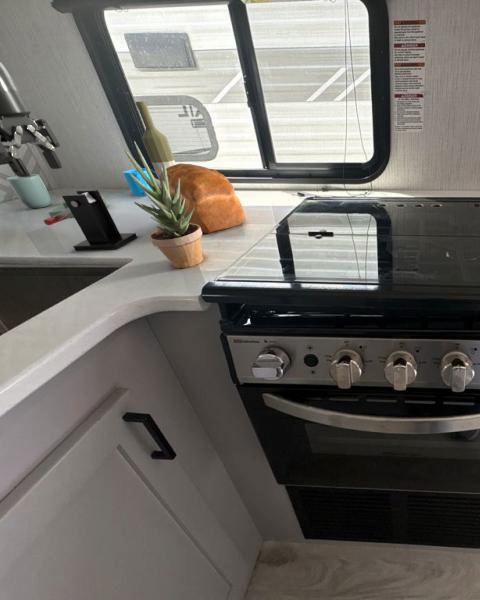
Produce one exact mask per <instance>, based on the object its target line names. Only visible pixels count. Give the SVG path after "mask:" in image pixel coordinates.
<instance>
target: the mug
mask: <svg viewBox="0 0 480 600" xmlns="http://www.w3.org/2000/svg"><path fill="white" fill-rule="evenodd" d="M141 169H142V170H143V172H144V173H145V174H146V175H147V177H148V178H149V179H150V177H149V175H148V173H147V171H146V169H145V167H144V168H141ZM128 172H129V173H131V174H132V175H133V176H134V177H135V178H137V179H138V180H139V181H140V182H141V183H143V184H144V185H145V186H146V187H148V188H149V189H150V190H152V189H151V188H150V187H149V185H148V184H147V183H146V182H145V180H144V179H143V178H142V176H141V175H140V174H139V172H138V171H137V169H136V168H134V169H127V170H124V171H123V172H122V174H123V175H124V178H125V179H126V182H127V184H128V186H129V189H130V191H131V193H132V195H133V196H134V197H144V196H147V195H146V194H145V192H144V190H143V189H142V188H141V187H140V186H139V185H138V184H137V183H136V182H135V180H134V179H133V178H132V177H131V176H130V174H129V173H128ZM150 180H151V179H150Z"/></svg>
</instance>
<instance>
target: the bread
mask: <svg viewBox="0 0 480 600" xmlns="http://www.w3.org/2000/svg"><path fill="white" fill-rule="evenodd" d="M166 171H167V177H168V184H169V192H170V196H171V197H172V196H173V194H174V192H175V190H176V187H177V182H178V178H179V180H180V191H179V196H180V194H181V195H182V197H181V202H182V201H183V199H185V202H184V208H183V211H182V213H183V212H184V210H185V208H186V206H187V205H189V206H188V209H187V211H186V213H185V215H184V217H185V216H186V215H187V214H188V213H189V212H190V211H191V210H192V209H193V208H194V207H195V208H194V210H193V212H192V215H191V218H190V220H189V222H188V223H192V224H198V225H199V226H200V228H201V231H202V234H203V233H204V234H211V233H215V232H216V233H217V232H220V231H224V230H227V229H230V228H233V227H235V226H239V225H241V224H242V223H244V222H245V220H246V214H245V211H244V208H243V205H242V203H241V201H240V199H239V197H238V196H237V195H236V192H235V187H234V186H233V184H232V183H231V182H230V180H229V179H228V178H227V177H226V176H225V175H224V174H222V173H221V172H219V171H217V170H215V169H214V168H209V167H206V166H202V165H197V164H192V163H181V162H179V163H176V165H173V166H170V167H167V168H166ZM159 179H160V181H159V187H160V188H162V184H161V175H160V176H159V178H158V180H159Z"/></svg>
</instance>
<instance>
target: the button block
mask: <svg viewBox="0 0 480 600" xmlns="http://www.w3.org/2000/svg"><path fill="white" fill-rule="evenodd" d="M102 199H103V201H104V203H105V205H106V207H107V208H108V206H109V205H108V203H107V201H106V199H105V198H102ZM67 208H68V206H67V204H66V202H65V200H64V199H63V200H62V201H61V204H58V205H57V206H56V207H55V208H53V209H52V210H51V211H49V213H48V214H49V215H50V218H51V217H53V216H56V215H58V214H59V213H61V212H62V211H64V210H65V209H67ZM67 216H68V218H74V216H73V214H72V213H70V214H68V215H67ZM68 218H67V219H68Z"/></svg>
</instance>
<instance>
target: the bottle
mask: <svg viewBox="0 0 480 600" xmlns="http://www.w3.org/2000/svg"><path fill="white" fill-rule="evenodd" d="M135 106H136V108H137V109H138V112H139V115H140V117H141V120H142V123H143V125H144V127H145V130H144V132H143V134H142V136H141V140H142V144H143V146H144V147H145V150H146V152H147V155H148V157H149V160H150V162H151V164H152V166H153V169H154V172H155V174H156V176H157V178H158V180H159V182H160V179H159V176H160V175H161V168H162V169H163V161H164V164H165V167H166V168H167V167H170V166H173V165H176V164H177V163H176V161H175V158H174V155H173V152H172V149H171V147H170V143H169V141H168V137H167V136H166V135H164V133H162V132H161V131H159V130H158V129H157V128H156V127H155V124H154V122H153V119H152V116H151V114H150V111H149V108H148V105H147V101H135Z"/></svg>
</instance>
